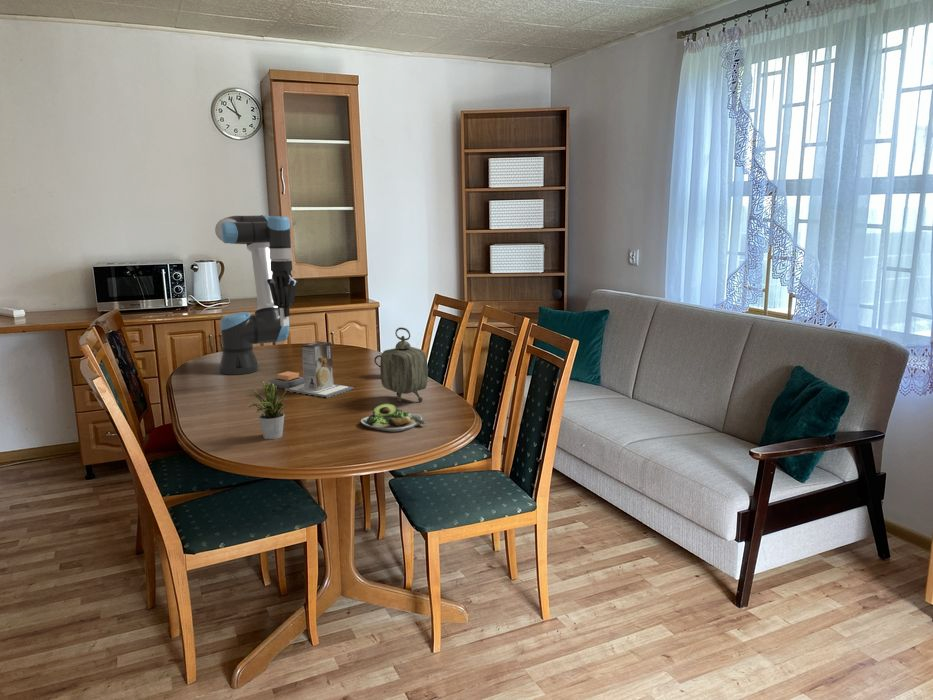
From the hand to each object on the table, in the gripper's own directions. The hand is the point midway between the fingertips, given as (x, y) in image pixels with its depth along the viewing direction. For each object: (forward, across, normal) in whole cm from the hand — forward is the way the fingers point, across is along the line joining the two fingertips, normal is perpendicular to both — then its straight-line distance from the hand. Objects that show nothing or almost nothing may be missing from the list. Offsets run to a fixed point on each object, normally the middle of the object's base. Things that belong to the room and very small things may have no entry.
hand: (284, 325), depth 249 cm
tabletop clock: (+23, -50, -3) cm, 55 cm away
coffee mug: (+23, -25, -30) cm, 45 cm away
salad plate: (+23, -61, +19) cm, 68 cm away
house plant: (+23, -38, +46) cm, 64 cm away
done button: (+20, 0, 0) cm, 20 cm away
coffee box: (+22, -15, 0) cm, 26 cm away
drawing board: (+22, -15, 0) cm, 27 cm away
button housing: (+22, 0, 0) cm, 22 cm away
